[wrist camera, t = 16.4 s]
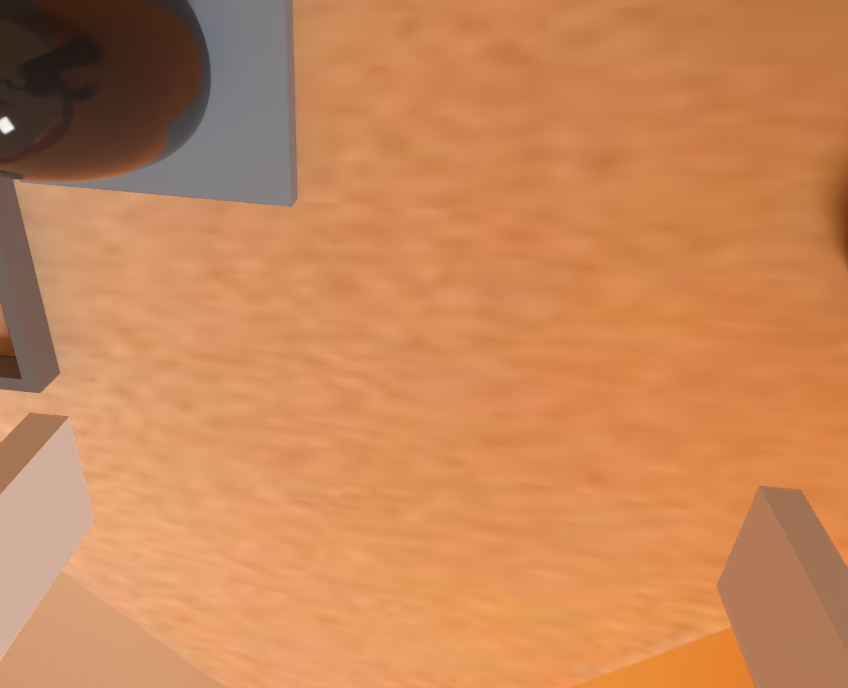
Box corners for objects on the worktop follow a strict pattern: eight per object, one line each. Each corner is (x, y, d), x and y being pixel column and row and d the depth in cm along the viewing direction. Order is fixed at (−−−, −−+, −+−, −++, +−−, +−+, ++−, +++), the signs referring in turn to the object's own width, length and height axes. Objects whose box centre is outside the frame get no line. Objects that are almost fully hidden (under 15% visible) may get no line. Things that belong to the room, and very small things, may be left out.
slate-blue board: (-39, -152, 32) (-61, -157, 31) (288, -127, 32) (280, -130, 31) (35, 174, 41) (20, 181, 39) (297, 198, 40) (291, 206, 39)
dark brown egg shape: (94, -122, 31) (-180, -176, 18) (273, 42, 34) (147, 96, 21) (5, 51, 36) (-271, 109, 23) (171, 184, 39) (14, 302, 26)
